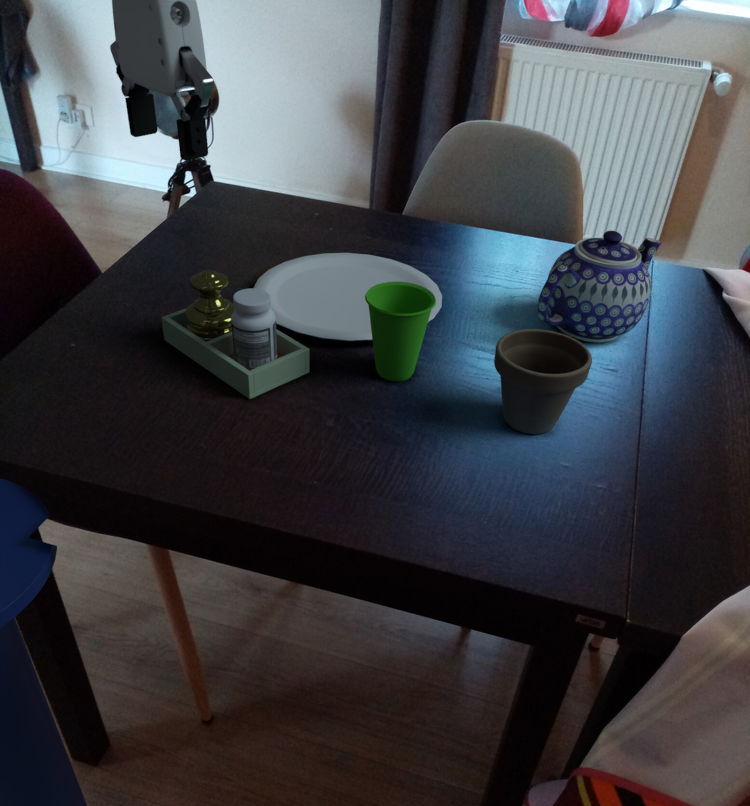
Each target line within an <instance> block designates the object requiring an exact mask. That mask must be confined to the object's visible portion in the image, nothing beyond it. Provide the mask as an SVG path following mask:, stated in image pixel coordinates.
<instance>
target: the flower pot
mask: <svg viewBox="0 0 750 806" xmlns="http://www.w3.org/2000/svg"><path fill="white" fill-rule="evenodd" d="M592 364H593V356H592V353H591V352H590V350H589V349H588V348H587V346H586V345H585V344H583V343H582V342H581V341H580V340H578V339H576V338H573V337H571V336H569V335H567V334H565V333H560V332H557V331H553V330H548V329H540V328H539V329H538V328H528V329H527V328H526V329H519V330H514V331H512V332H511V331H510V332H508V333H506V334H504V335H503V336H501V337H500V338H499V339H498V340H497V342H496V345H495V352H494V359H493V365H494V368H495V370H496V372H497V373H498V375H499V377H500V392H501V405H502V412H503V419H504V421H505V422H506V424H507V425H508V426H509V427H510V428H512V429H514V430H515V431H517V432H521V433H524V434H531V435H540V434H544V433H547V432H549V431H551V430H552V429H554V427H555V426H556V424H557V422H558V421H559V419H560V418H561V416H562V414H563V412H564V411H565V409H566V407H567V406H568V404H569V401H570V399H571V397H572V396H573V394H574V392H575V390H576V389H577V388H579V387H581V386H582V385H583V384H584V383H585V382H586V381H587V379H588V376H589V373H590V369H591V367H592Z"/></svg>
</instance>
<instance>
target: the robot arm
mask: <svg viewBox="0 0 750 806" xmlns="http://www.w3.org/2000/svg"><path fill="white" fill-rule="evenodd" d="M111 7H112V9H111V10H112V19H113V29H114V37H115V40H114V41H113V42H112V43H111V44H110V47H109V49H110V53H111V55H112V58H113V61H114V65H115V66H116V67H115V70H116V72H115V73H116V75H117V77H118V78H119V80H120V82H121V87H120V88H121V89H120V90H121V93H122V95H123V96H124V100H125V106H126V112H127V120H128V127H129V134H130V136H132V137H134V138H140V137H144V136H150V135H155V134H157V133H158V123H157V122H158V121H157V114H156V107H155V106H156V105H155V98H154V94H153V93H149V92H150V91H153V92H155V93H158V94H160V95H163V96H166V97H170V98H171V100H172V103H173V105H174V107H175V110H176V112H177V114H178V115H179V119H178V118H177V119H175V120H176V121H175V122H176V129H177V130H176V131H177V138H178V139H177V140H178V147H179V157H180V159H181V160H182V161H184V162H187V161H192V160H196V159H201V158H206V157H207V156H208V155H209V145H208V133H207V123H206V118H208V117H209V108H210V107H211V106H212V94H213V90H214V85H215V82H214V81H215V80H214V78H213V77H212V75H211V73H210V72H209V71H208V68H207V59H206V51H205V43H204V37H203V29H202V23H201V17H200V12H199V7H198V3H197V0H111ZM185 97H190V98H189V99H188V101H187V103H186V101H185Z"/></svg>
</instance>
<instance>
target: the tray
mask: <svg viewBox="0 0 750 806" xmlns="http://www.w3.org/2000/svg"><path fill="white" fill-rule="evenodd" d="M186 309H187V307H186V308H183V309H180V310H177V311H175V312H172V313H170V314H166V315H163V316H161V318H160V319H161V326H162V333H163V339H164V341H165V342H167V343H168V344H169V345H171V346H172V347H174V348H175V349H176V350H178V351H180V352H181V353H182V354H184V355H185V356H186V357H188V358H190V359H191V360H192V361H194V362H195V363H197V364H198V365H199V366H201V367H202V368H204V369H205V370H207V371H208V372H210V373H211V374H213V375H214V376H216V377H217V378H218V379H220V380H221V381H223V383H226V384H227V385H229V386H230V387H231V388H233V389H235V391H237V392H238V393H240V394H242V395H243V396H244V397H246V398H248V399H249V400H251V399H254V398H256V397H258V396H260V395H262V394H265V393H267V392H269V391H271V390H274V389H276V388H278V387H279V386H283V385H284V384H287V383H289V382H291V381H293V380H296V379H297V378H300V377H302V376H304V375H306V374H309V373H310V372H311V370H310V367H311V366H310V348H309V347H307V346H305V345H304V344H302V343H300V342H299V341H297V340H295V339H293V338H292V337H290V336H288V335H287V334H286V333H283V332H282V331H280V330H278V329H277V328H276V336H277V358H278V359H276V360H273V361H271V362H269V363H266V364H264V365H262V366H259V367H257V368H255V369H252V370H250V371H249V370H248V369H246V368H245V367H243V366H242V365H240V364H239V363H237V362H236V361H234V351H233V338H232V332H230V333H227V334H225V335H222V336H220V337H217V338H214V339H212V340H209V341H207V342H205V341H204V340H202V339H201V338H199V337H198V336H196V335H195V334H193V333H192V332H190V331H189V330H187V329H186V326H187V324H188V323H187V322H186V319H185V310H186Z"/></svg>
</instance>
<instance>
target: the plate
mask: <svg viewBox="0 0 750 806" xmlns="http://www.w3.org/2000/svg"><path fill="white" fill-rule="evenodd" d="M386 282H408V283H413V284H417V285H420V286H422V287H424V288H426V289H428V290H429V291H431V292H432V293H433V295H434V296H435V299H436V304H435V306H434V307H433V309H432V310H431V313H430V317H429V320H428V324H429V323H430V322H432V321H433V320H435V318H436V317H437V315H438V314H439V312H440V311H441V309H442V304H443V294H442V292H441V290H440V288H439V286H438V284H437V283H436V282H434V281H433V280H432V278H430V277H429V276H428V275H427V274H425V273H424V272H422V271H420V270H418V269H417V268H414V267H413V266H411V265H409V264H406V263H403V262H400V261H397V260H394V259H391V258H387V257H382V256H379V255H374V254H373V255H372V254H365V253H355V252H325V253H317V254H309V255H304V256H300V257H296V258H292V259H288V260H285V261H284V262H281V263H279V264H277V265H275V266H274V267H271V268H269V269H268V270H267V271H265V272H264V273H263V274H262V275H261V276H259V277H258V278H257V280H256V282H255V284H254V286H253V288H255V289H261V290H264V291H266V292H268V293H269V294H270V297H271V307H270V309H271V310H272V311H273V312H274V314H275V317H276V326H280V327H282V328H283V329H287V330H289V331H291V332H294V333H296V334H299V335H302V336H307V337H311V338H316V339H320V340H327V341H338V342H348V343H351V342H373V340H372V331H371V323H370V314H369V306H368V303H367V302H366V300H365V295H366V293H367V291H368V290H369V289H370V288H371V287H373V286H375V285H378V284H381V283H386Z"/></svg>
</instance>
